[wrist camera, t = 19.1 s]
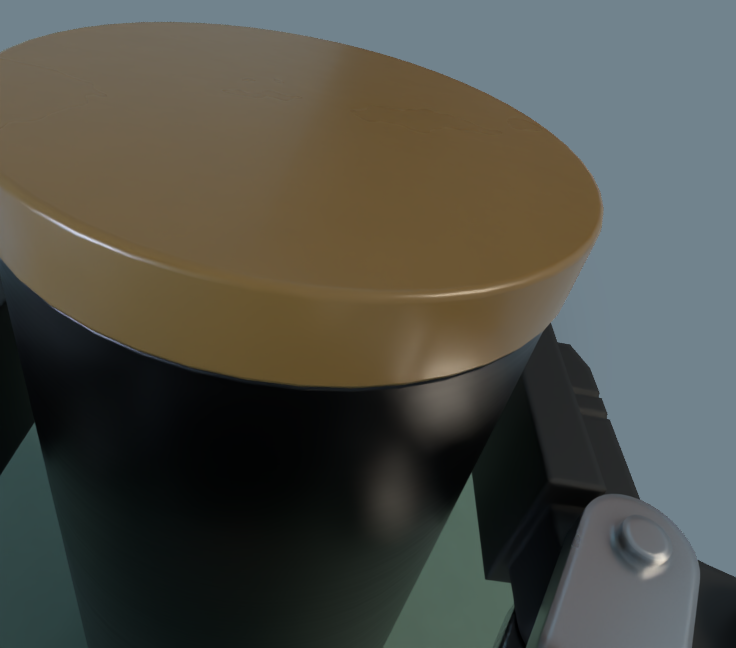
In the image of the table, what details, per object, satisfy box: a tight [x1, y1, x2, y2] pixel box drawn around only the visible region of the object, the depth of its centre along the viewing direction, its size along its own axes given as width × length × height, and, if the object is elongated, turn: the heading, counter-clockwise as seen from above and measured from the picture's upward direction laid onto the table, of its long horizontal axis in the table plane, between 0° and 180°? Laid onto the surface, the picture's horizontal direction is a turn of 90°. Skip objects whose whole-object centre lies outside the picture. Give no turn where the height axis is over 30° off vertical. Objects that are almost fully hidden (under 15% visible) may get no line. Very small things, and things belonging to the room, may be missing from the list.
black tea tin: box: [0, 22, 603, 648], centre depth 8 cm, size 6×6×10 cm
